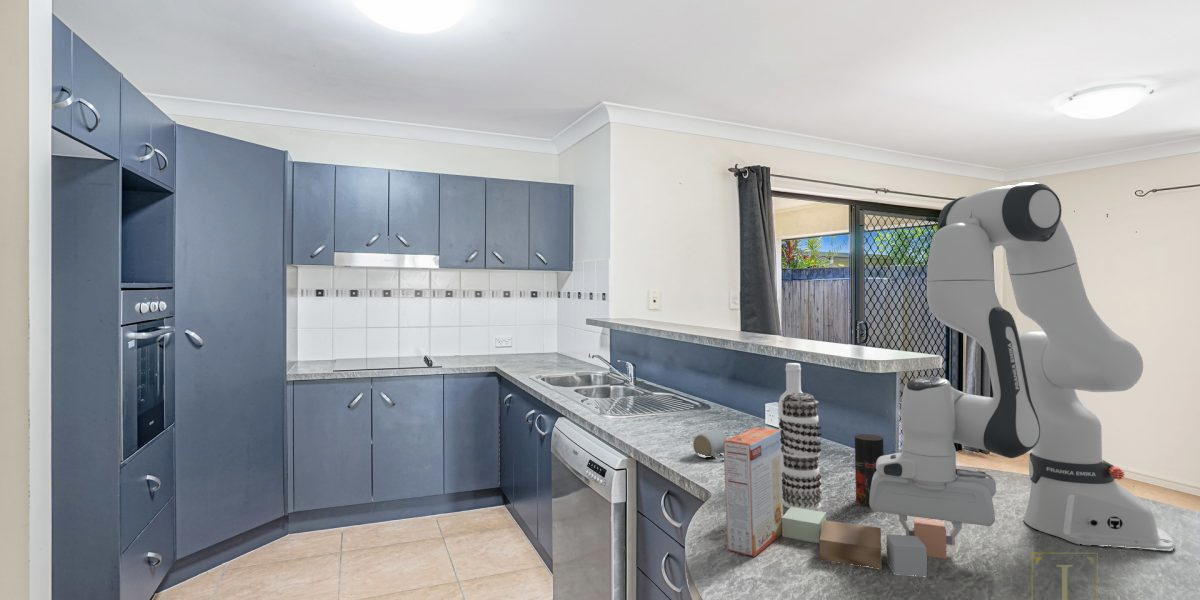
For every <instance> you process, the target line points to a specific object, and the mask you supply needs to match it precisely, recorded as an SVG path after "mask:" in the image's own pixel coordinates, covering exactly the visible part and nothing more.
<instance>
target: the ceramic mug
mask: <svg viewBox="0 0 1200 600" xmlns="http://www.w3.org/2000/svg"><path fill="white" fill-rule="evenodd" d="M727 437H728V436H726V434H725V433H724V432H723V431H722V430H721V429H719V428H713V429H711V430H708V431H705V432H702V433H699V434H698V435H696V436H695V437H694V439H693V449H694V452H695V454H696V453H699V454H702V455H705V456H713V457H712V458H714V457H717V458H724V455H718V454H720V453H724V441H725V440H727V439H728V438H727Z"/></svg>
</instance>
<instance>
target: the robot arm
mask: <svg viewBox="0 0 1200 600" xmlns="http://www.w3.org/2000/svg"><path fill="white" fill-rule="evenodd" d="M1061 218H1062V203H1061V201H1060V198H1059V197H1058V194H1057V193H1055V191H1054V190H1053V189H1052V188H1050V187H1049V186H1048V185H1046V184H1044V183H1039V182H1020V183H1018V184H1015V185H1004V186H999V187H993V188H989V189H986V190H984V191H979V192H977V193H973V194H971V195H967V196H966V195H964V196H960V197H958V198H955V199H954V200H951V201H950V202H948V203H947V204H945V206H943V208H942V209H941V210H940V213H939V215H938V219H937V226H936V227H937V231H935V233H934V234H933V236H932V237H931V243H930V247H929V252H928V259H927V268H926V300H927V301H926V302H927V305H928V309H929V311H930V312H931V314H932V315H933V316H934V317H935V319H936V320H938V321H939V322H941V324H943V325H945V326H947V327H948V328H950V329H952V330H954V331H957V332H959V333H962V334H964V335H966V336H967V337H970V338H971V339H973V340H974V341H975V342H976V343H978V344H979V345H980V346H981V348H982V349H983V351H984V353H985V355H986V359H987V364H988V371H989V372H988V373H989V376H990V382H991V387H992V393H993V397H990V396H983V395H976V394H972V393H965V392H964V391H960V390H958V389H956V388H955V387H953V386H952V384H951V383H950V381H949V380H948V379H946V378H943V377H940V376H939V377H938V376H923V377H916V378H913V379H911V380H908V381H907V382H906V383H905V385H904V387H903V392H902V396H901V403H900V406H901V407H900V426H901V429H902V433H903V439H902V443H901V451H899V452H895V453H889V454H884V456H880V457H879V458H878V459H877V461H876V470H877V471H876V472H875V473H874V475H873V478H872V483H871V489H870V499H869V506H870V507H869V508H870V509H871V510H872V511H873V512H877V513H885V514H892V515H898V521H899V522H900V524H901V525H902V527H903V529H904V530H905V535H907V536H914V535H915V532H914V527H911V526H910V525H909V524H908V522H907V521H908V517H913V518H921V519H929V520H936V521H944V522H945V521H946V522H951V524H952V529H951V530H950V532H948V531H946V546H955V545H956V537H957V536H958V534H959V533H960V532H961V531H962V529H963V528H962V527H963V526H962V525H963V524H970V525H975V526H976V525H977V526H986V527H991V526H993V524H994V523H995V522H996V514H995V513H996V512H995V506H994V500H993V497H995V495H996V492H997V482H996V480H995V479H994V477H992V476H991V475H989V474H988V473H986V472H985V471H982V470H981V471H980V470H977V471H974V470H968V469H960V468H957V451H956V450H957V449H956V447H955V443H956V444H959V445H962V446H967V447H971V448H973V449H974V448H975V449H980V450H984V451H987V452H990V453H992V454H995V455H998V456H1001V457H1005V458H1008V459H1015V458H1018V457H1021V456H1023V455H1025V454H1026V453H1028V452H1029V458H1028V472H1029V473H1028V475H1029V479H1030V482H1031V483H1030V490H1029V498H1028V504H1027V507H1026V510H1025V514H1024V516H1023V521H1024V522H1025V524H1027V525H1028V526H1030V527H1031V528H1033V529H1035V530H1038V531H1040V532H1041V533H1042V532H1043V533H1045V534H1048V535H1052V536H1056V537H1058V538H1061V539H1064V540H1066V541H1067V542H1070V543H1072V544H1075V545H1080V544H1082V546H1091V545H1108V546H1109V545H1111V546H1124V547H1125V546H1126V547H1140V548H1156V549H1171V548H1173V547H1174V548H1175V542H1174V540H1173V537H1171V536H1170V535H1169V534H1168V533H1167V532H1166V531H1164V530H1162V529H1161V528H1160V527H1158V526H1157V521H1156V518H1155V516H1154V512H1153V511H1152V509H1151V507H1149V505H1148V504H1146V502H1145V501H1143V500H1142V499H1140V497H1138V496H1137V495H1135V494H1134V493H1132V491H1130V490H1128V489H1127V488H1125V487H1124V486H1123V485H1121V484H1120V483H1118V482H1116V481H1115V480H1122V479H1123V478H1125V475H1126V474H1125V472H1124V470H1123V469H1121V468H1120V467H1118V466H1114V465H1113V464H1112V463H1109V462H1108V461H1106V460H1104V459H1103V451H1102V450H1103V447H1102V446H1103V444H1102V443H1103V442H1102V434H1103V433H1102V424H1101V421H1100V418H1098V416H1096V414H1095V413H1093V412H1092V411H1091V410H1089V409H1088V408H1087V407H1086V406H1085V405H1084V404H1083V403H1082V401H1080V399H1079V397H1078V395H1077V393H1076V392H1077V391H1084V392H1091V393H1116V392H1125V391H1128V390H1130V389H1132V388H1133V387H1134V386H1135V385H1136V384H1137V383H1138V381H1139V380H1140V379H1141V377H1142V375H1143V373H1144V372H1143V371H1144V361H1143V357H1142V355H1141V353H1140V350H1138V349H1137V347H1136V346H1135V345H1134V344H1133V343H1131V342H1130V341H1129V340H1126V339H1124V338H1123V337H1121V336H1120V335H1118V334H1117V333H1116V332H1114V331H1113V330H1112V329H1111V328H1110V327H1109V326H1108V325H1107V324H1106V323H1105V321H1103V319H1102V318H1101V317H1100V316H1099V314H1097V312H1096V311H1095V309H1094V307H1093V306H1092V304H1091V302H1090V300H1089V298H1088V295H1087V293H1086V289H1085V287H1084V282H1083V279H1082V278H1083V277H1082V275H1081V272H1080V268H1079V263H1078V260H1077V259H1078V258H1077V255H1076V252H1075V249H1074V245H1073V242H1072V239H1071V237H1070V235H1069V233H1068V230H1067V228H1066V227H1065V225H1064V223H1063V221H1062V219H1061ZM1001 246H1002V248H1003V249H1004V250H1005V259H1006V263H1007V270H1008V273H1009V279H1010V282H1011V286H1012V290H1013V295H1014V300H1015V303H1016V306H1017V309H1018V310H1019V312H1021V314H1023V316H1025V317H1027V318H1029V319H1030V320H1032V321H1033V322H1034V323H1036V324H1037V325H1038V326H1039V327H1040V328H1041V329H1042V331H1036V330H1035V331H1027V332H1021V333H1020V332H1019V331H1018V328H1017V324H1016V321H1015V319H1014V317H1013V315H1012V314H1011V312H1010V311H1008V310H1006V309H1004V308H1003V306H1002V304H1001V303H1000V301H999V299H998V295H997V293H996V286H995V269H994V268H995V267H994V259H993V253H994V251H995V249H996V247H1001ZM1076 390H1077V391H1076ZM1030 451H1031V452H1030Z"/></svg>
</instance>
